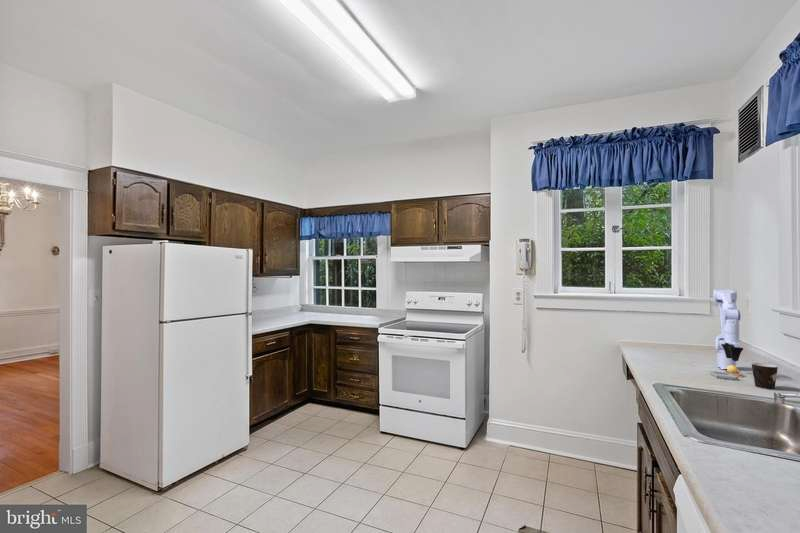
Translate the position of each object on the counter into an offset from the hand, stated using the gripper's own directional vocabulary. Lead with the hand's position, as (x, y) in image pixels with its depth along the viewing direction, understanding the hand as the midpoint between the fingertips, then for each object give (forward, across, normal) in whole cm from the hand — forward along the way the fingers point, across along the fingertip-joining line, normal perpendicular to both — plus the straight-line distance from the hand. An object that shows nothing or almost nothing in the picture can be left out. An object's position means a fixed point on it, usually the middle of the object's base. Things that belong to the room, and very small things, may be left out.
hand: (732, 359), depth 194 cm
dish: (+8, 0, 0) cm, 8 cm away
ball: (+5, 0, 0) cm, 5 cm away
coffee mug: (+8, +23, +3) cm, 24 cm away
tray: (+8, +8, -6) cm, 13 cm away
